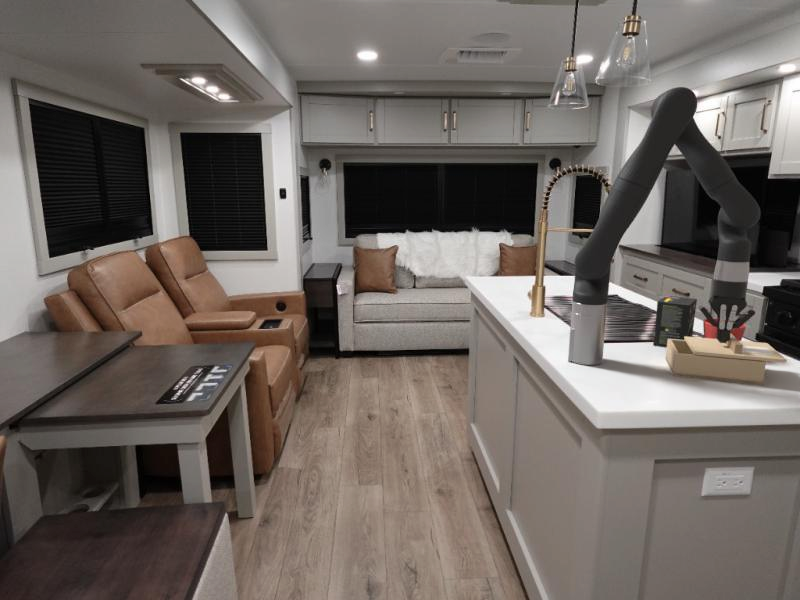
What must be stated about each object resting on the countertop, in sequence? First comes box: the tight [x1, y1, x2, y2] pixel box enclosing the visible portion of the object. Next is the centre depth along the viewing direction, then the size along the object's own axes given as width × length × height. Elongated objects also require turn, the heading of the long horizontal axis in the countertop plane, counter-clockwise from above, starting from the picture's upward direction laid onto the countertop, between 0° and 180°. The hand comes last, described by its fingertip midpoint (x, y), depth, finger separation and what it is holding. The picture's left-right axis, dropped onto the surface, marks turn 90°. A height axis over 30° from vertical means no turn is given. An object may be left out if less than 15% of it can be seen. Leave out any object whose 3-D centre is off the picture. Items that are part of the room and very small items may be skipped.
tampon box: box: [652, 295, 698, 348], centre depth 161 cm, size 11×9×15 cm
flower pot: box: [702, 317, 747, 341], centre depth 152 cm, size 11×11×10 cm
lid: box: [684, 333, 788, 364], centre depth 136 cm, size 20×15×3 cm
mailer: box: [665, 339, 767, 386], centre depth 138 cm, size 20×15×6 cm
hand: (722, 342), depth 136 cm, fingers closed
